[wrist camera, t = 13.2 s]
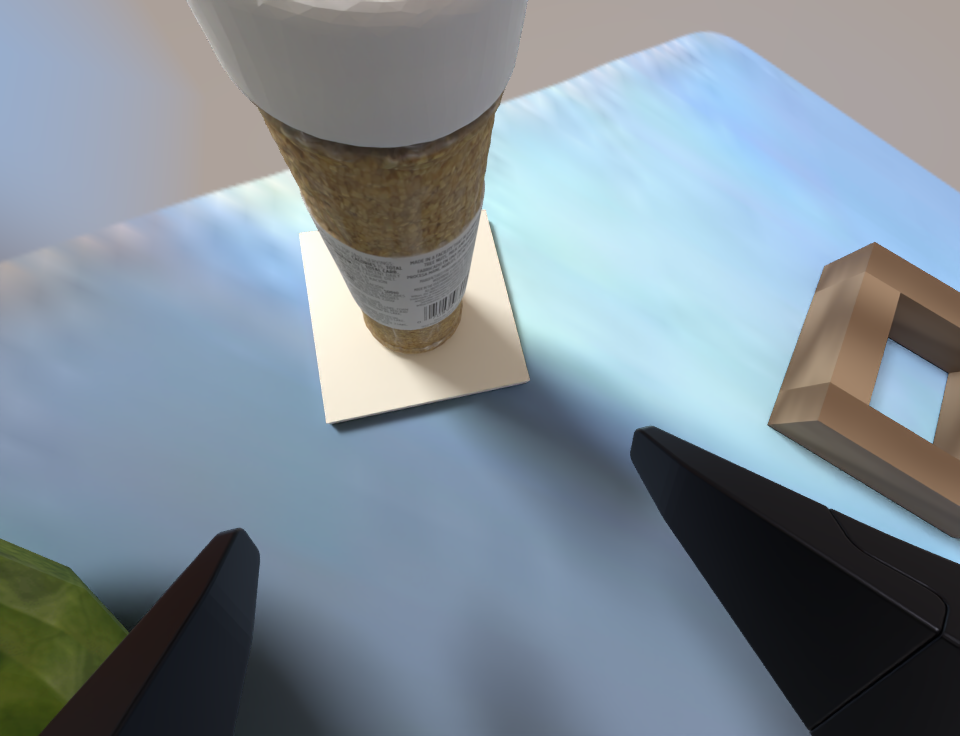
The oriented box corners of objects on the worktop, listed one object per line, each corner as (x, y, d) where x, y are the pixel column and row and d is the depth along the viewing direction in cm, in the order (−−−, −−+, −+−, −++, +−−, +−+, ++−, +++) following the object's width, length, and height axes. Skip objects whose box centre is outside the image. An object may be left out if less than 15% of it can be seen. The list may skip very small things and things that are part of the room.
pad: (527, 382, 17) (529, 380, 17) (330, 424, 16) (326, 423, 15) (483, 216, 19) (485, 209, 19) (303, 240, 18) (298, 233, 17)
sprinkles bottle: (428, 249, 18) (415, -320, 5) (481, 325, 17) (631, -80, 4) (342, 294, 17) (17, -277, 4) (395, 377, 16) (234, 52, 3)
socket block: (952, 537, 18) (1031, 549, 16) (767, 424, 18) (817, 420, 16) (985, 362, 21) (1057, 350, 18) (824, 266, 21) (874, 242, 19)
